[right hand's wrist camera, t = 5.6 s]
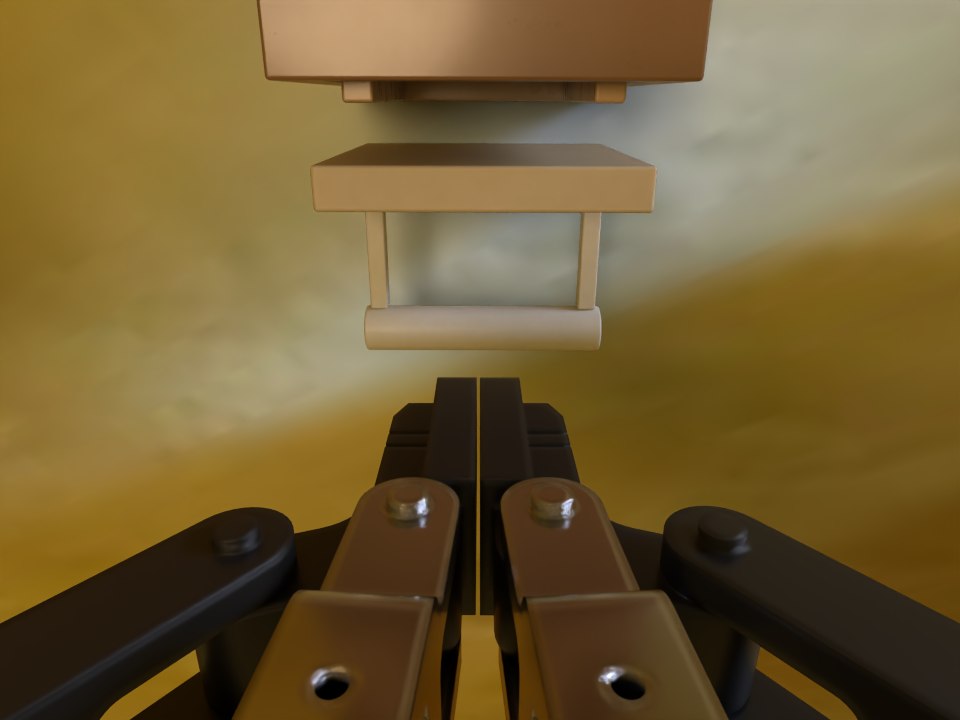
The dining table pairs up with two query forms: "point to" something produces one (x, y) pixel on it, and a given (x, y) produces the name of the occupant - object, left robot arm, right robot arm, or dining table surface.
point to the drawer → (483, 188)
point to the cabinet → (485, 40)
